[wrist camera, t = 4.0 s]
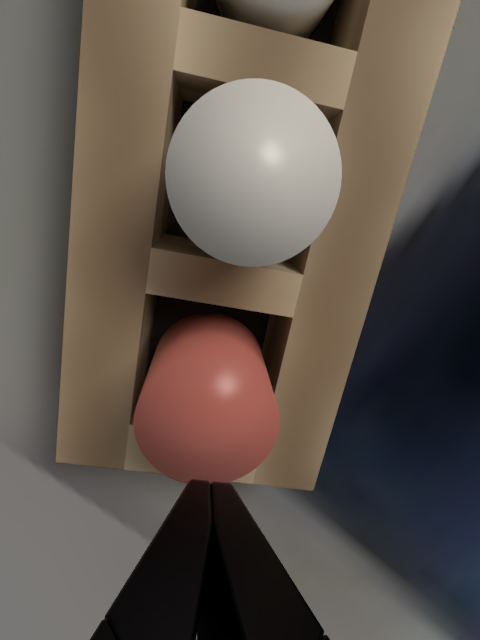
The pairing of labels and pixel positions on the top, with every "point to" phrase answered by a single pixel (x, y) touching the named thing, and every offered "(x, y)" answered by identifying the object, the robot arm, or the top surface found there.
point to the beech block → (195, 264)
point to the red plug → (207, 402)
